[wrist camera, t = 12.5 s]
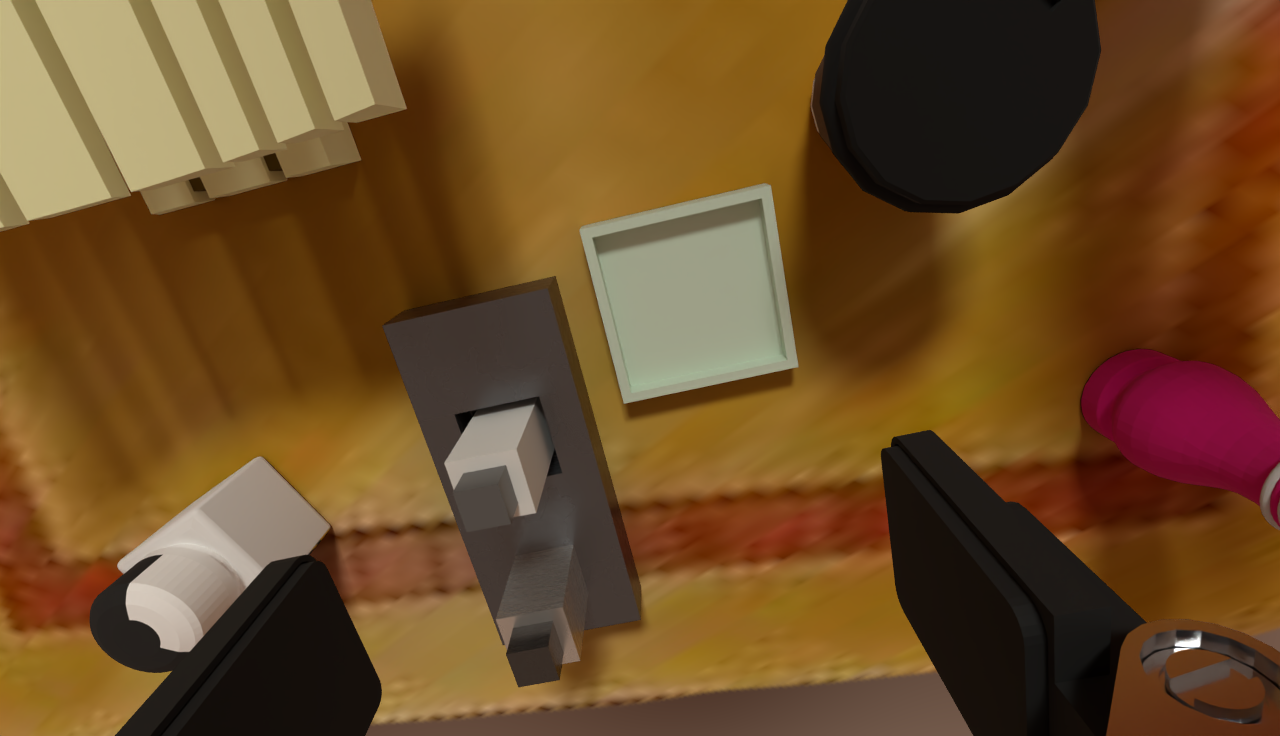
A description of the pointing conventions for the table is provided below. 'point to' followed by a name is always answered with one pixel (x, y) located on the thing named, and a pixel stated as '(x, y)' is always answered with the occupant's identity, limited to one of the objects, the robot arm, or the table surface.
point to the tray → (692, 293)
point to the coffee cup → (953, 95)
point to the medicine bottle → (201, 567)
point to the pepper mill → (1188, 424)
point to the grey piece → (576, 480)
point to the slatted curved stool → (180, 98)
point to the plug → (501, 464)
